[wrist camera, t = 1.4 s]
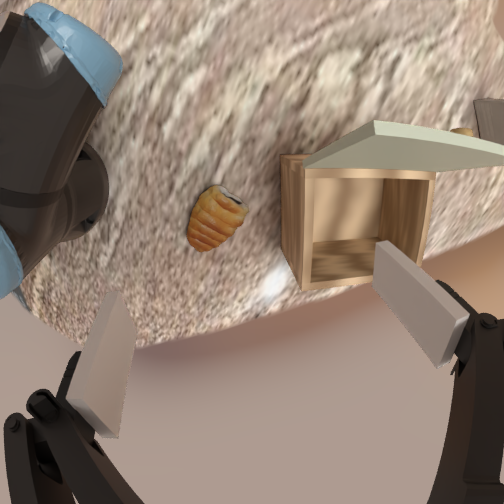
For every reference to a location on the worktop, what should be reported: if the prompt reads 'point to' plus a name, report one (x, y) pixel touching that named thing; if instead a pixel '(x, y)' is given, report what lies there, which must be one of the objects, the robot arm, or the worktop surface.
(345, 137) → the lid
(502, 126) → the skincare box
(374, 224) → the box
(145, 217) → the worktop surface
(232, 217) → the pastry
